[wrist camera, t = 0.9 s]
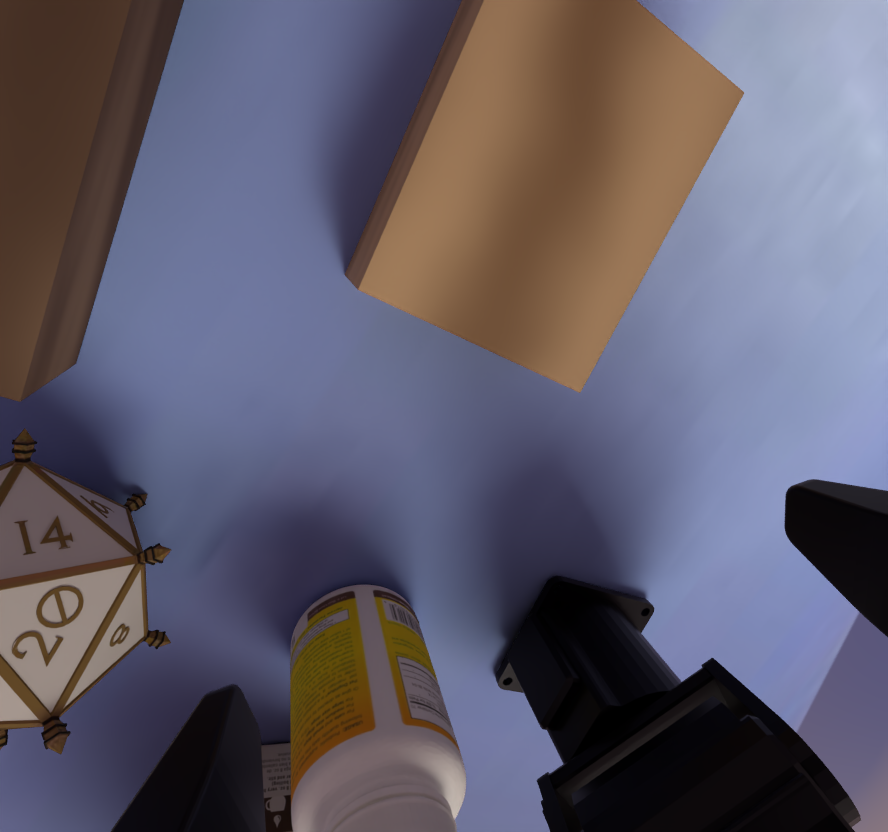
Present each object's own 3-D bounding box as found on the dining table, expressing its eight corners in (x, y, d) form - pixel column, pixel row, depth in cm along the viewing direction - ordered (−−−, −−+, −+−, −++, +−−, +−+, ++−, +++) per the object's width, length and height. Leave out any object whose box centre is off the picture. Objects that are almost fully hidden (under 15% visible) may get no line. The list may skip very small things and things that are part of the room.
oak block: (652, 117, 20) (744, 92, 16) (526, 360, 22) (580, 392, 18) (469, -21, 17) (525, -94, 13) (344, 274, 19) (358, 289, 15)
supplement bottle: (281, 681, 24) (274, 974, 15) (301, 573, 22) (309, 826, 13) (402, 680, 26) (464, 941, 16) (429, 580, 24) (514, 807, 15)
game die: (75, 437, 22) (-38, 326, 13) (238, 572, 22) (237, 555, 14) (-162, 628, 18) (-560, 658, 9) (42, 787, 18) (-142, 965, 10)
